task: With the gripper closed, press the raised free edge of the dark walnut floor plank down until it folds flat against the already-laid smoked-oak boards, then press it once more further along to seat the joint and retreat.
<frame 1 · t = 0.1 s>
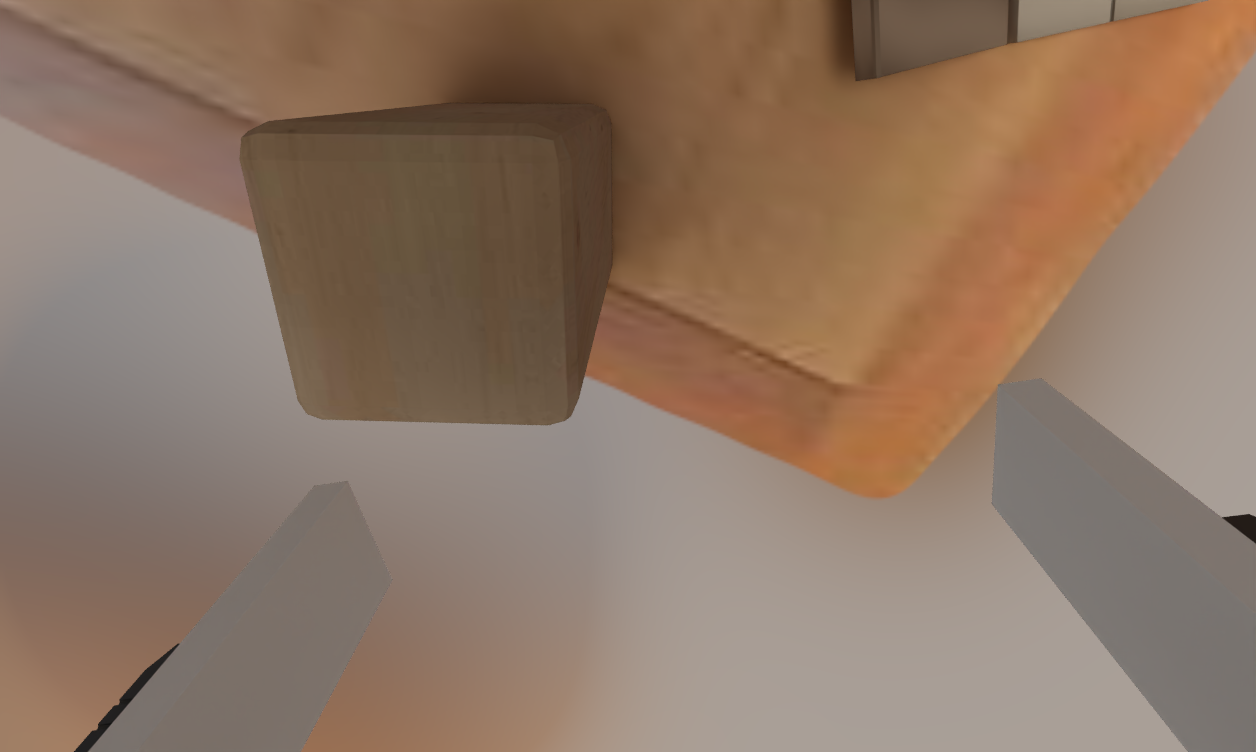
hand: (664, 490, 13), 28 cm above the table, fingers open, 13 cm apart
wooden block: (530, 193, 38), on the table
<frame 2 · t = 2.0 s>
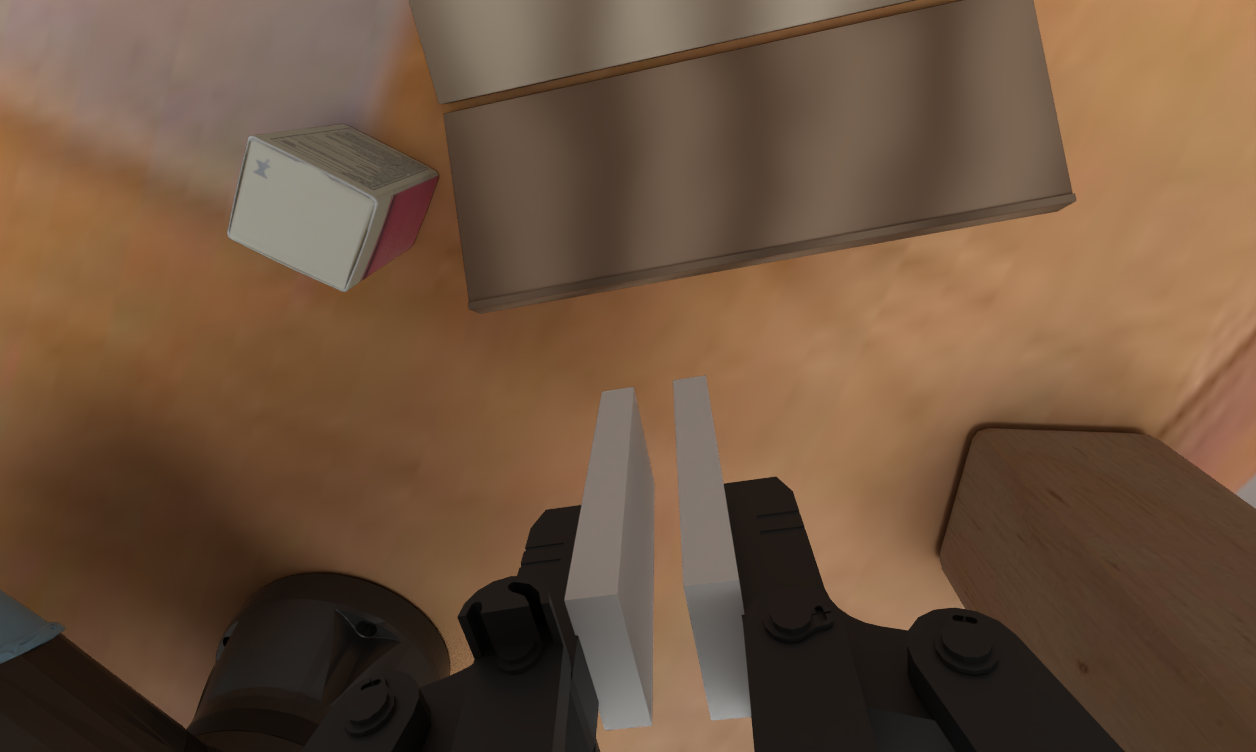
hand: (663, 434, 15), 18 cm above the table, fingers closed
small box: (382, 187, 31), on the table
wooden block: (1033, 496, 37), on the table
plank: (737, 159, 27), point 3 cm above the table, hinge at 28.0°
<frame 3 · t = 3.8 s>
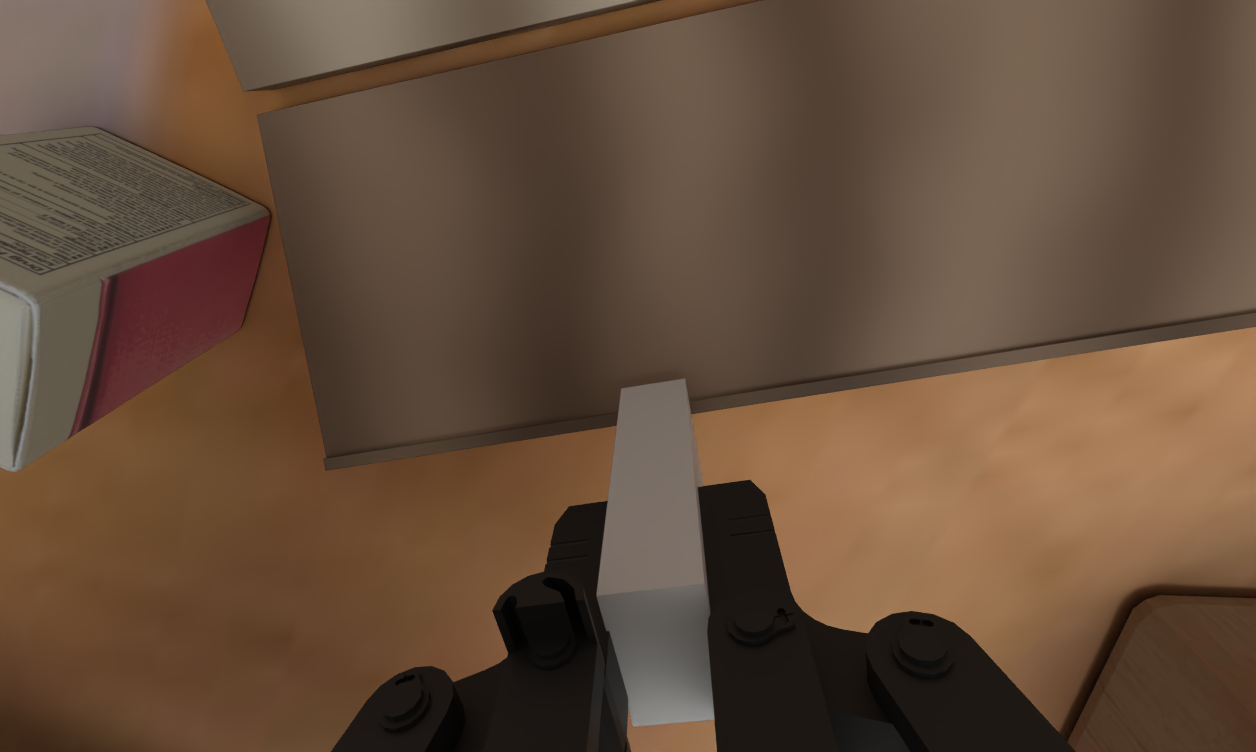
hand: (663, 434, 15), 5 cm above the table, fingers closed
small box: (180, 232, 18), on the table
wooden block: (1208, 678, 25), on the table
plank: (791, 204, 15), point 2 cm above the table, hinge at 21.4°, touching gripper
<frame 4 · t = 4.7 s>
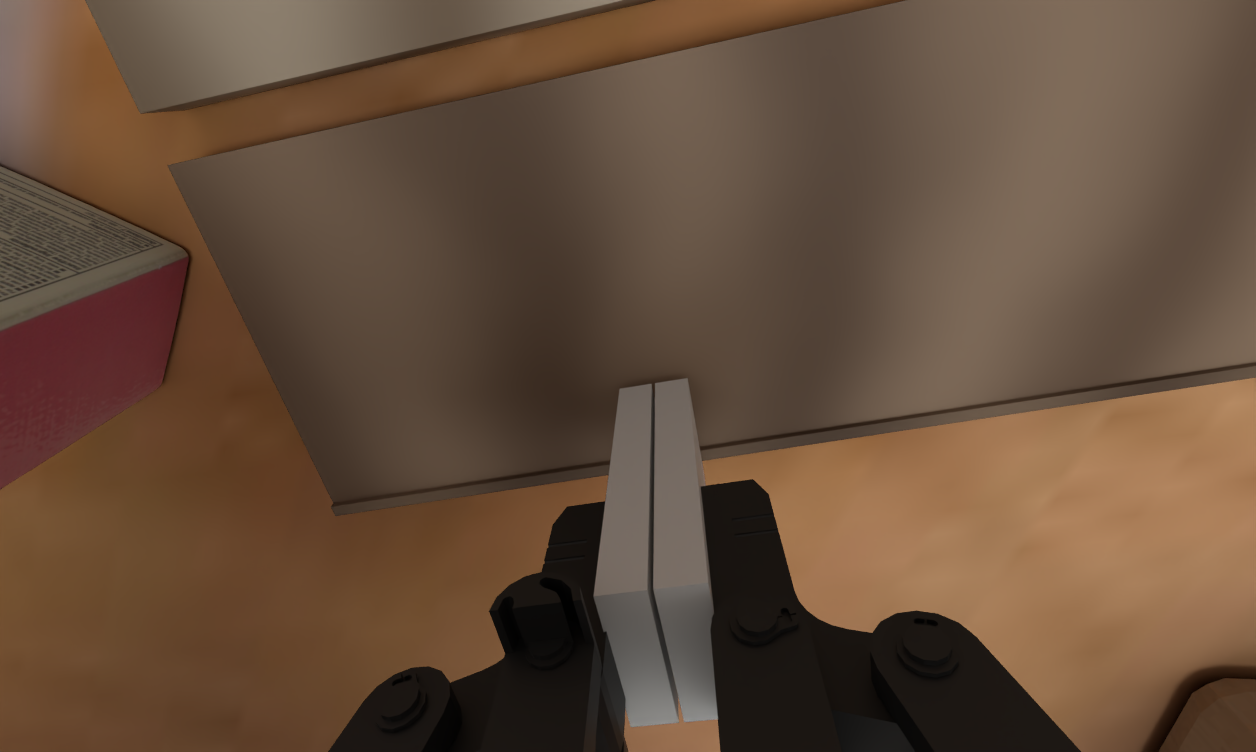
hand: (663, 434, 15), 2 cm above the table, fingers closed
small box: (85, 276, 16), on the table
plank: (793, 257, 14), point 1 cm above the table, hinge at -0.4°, touching gripper
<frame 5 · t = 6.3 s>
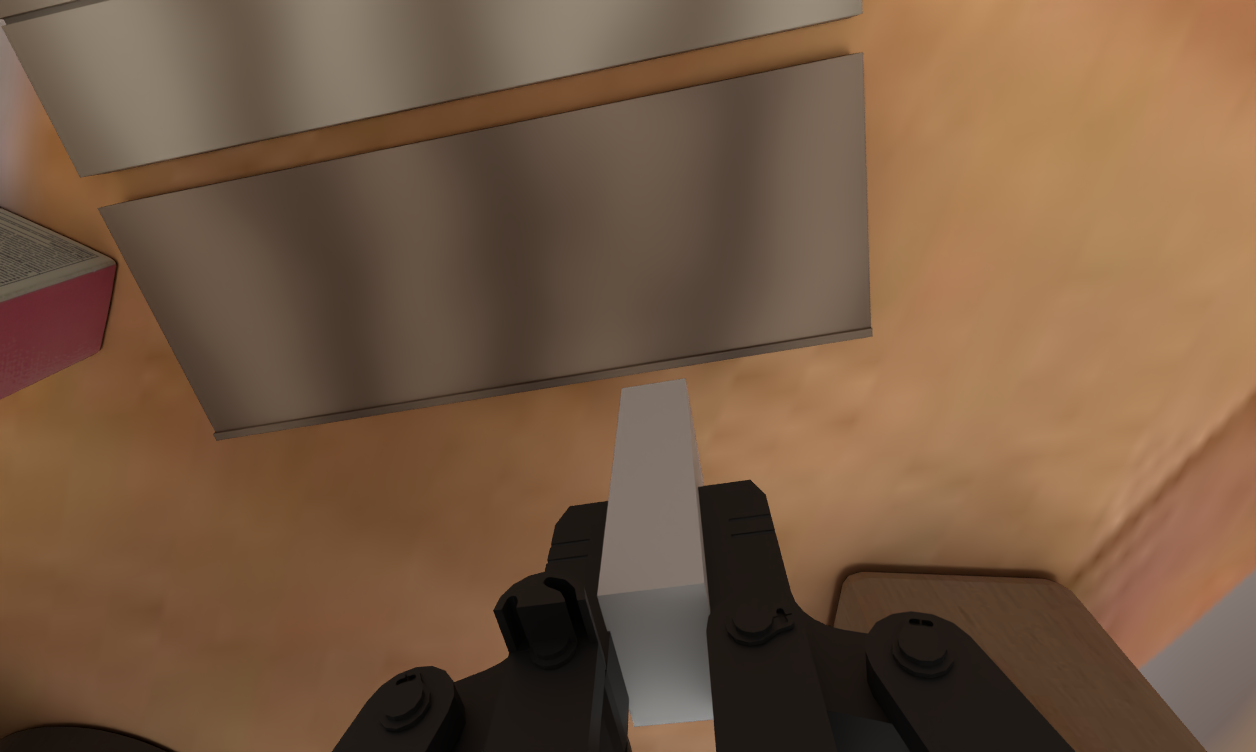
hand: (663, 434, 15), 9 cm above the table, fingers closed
small box: (49, 276, 24), on the table
wooden block: (925, 644, 30), on the table
plank: (498, 269, 22), point 1 cm above the table, hinge at -0.4°
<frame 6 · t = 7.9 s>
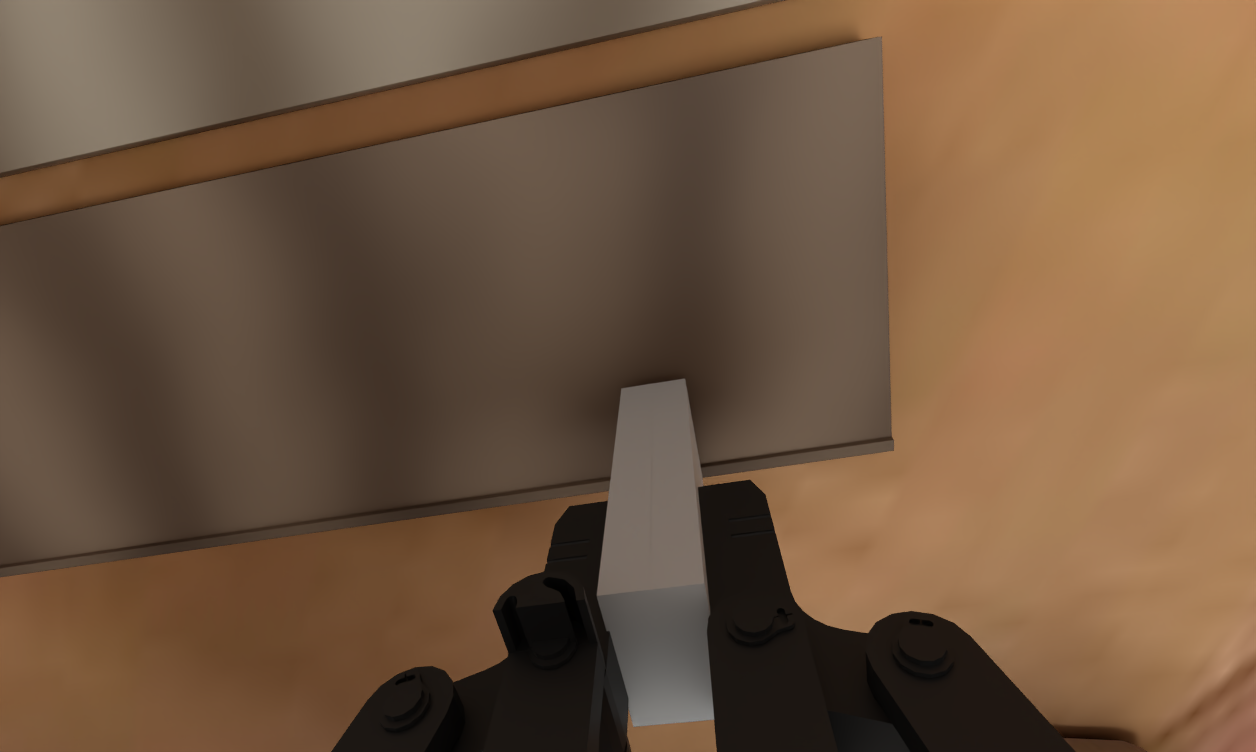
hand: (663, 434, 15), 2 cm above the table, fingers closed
plank: (354, 355, 15), point 1 cm above the table, hinge at -0.4°, touching gripper
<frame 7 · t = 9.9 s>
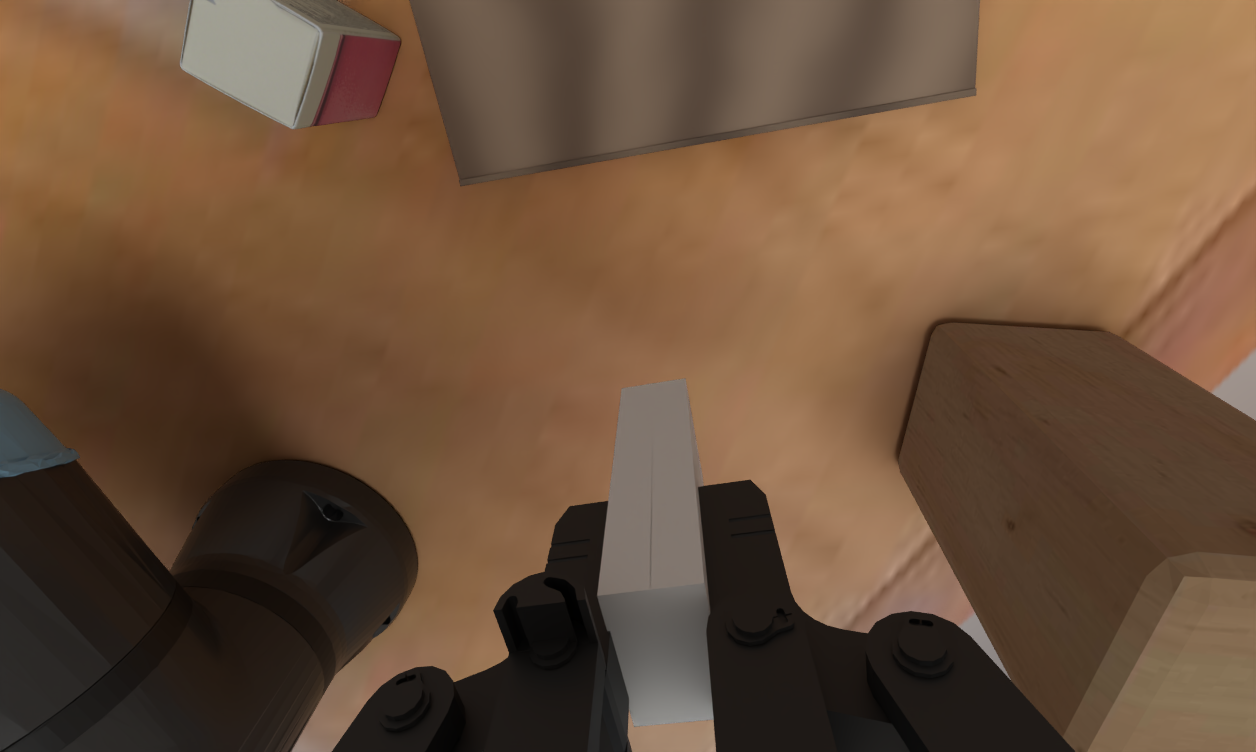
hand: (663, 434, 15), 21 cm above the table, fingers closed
small box: (346, 54, 32), on the table
wooden block: (994, 399, 37), on the table
plank: (690, 40, 29), point 1 cm above the table, hinge at -0.4°
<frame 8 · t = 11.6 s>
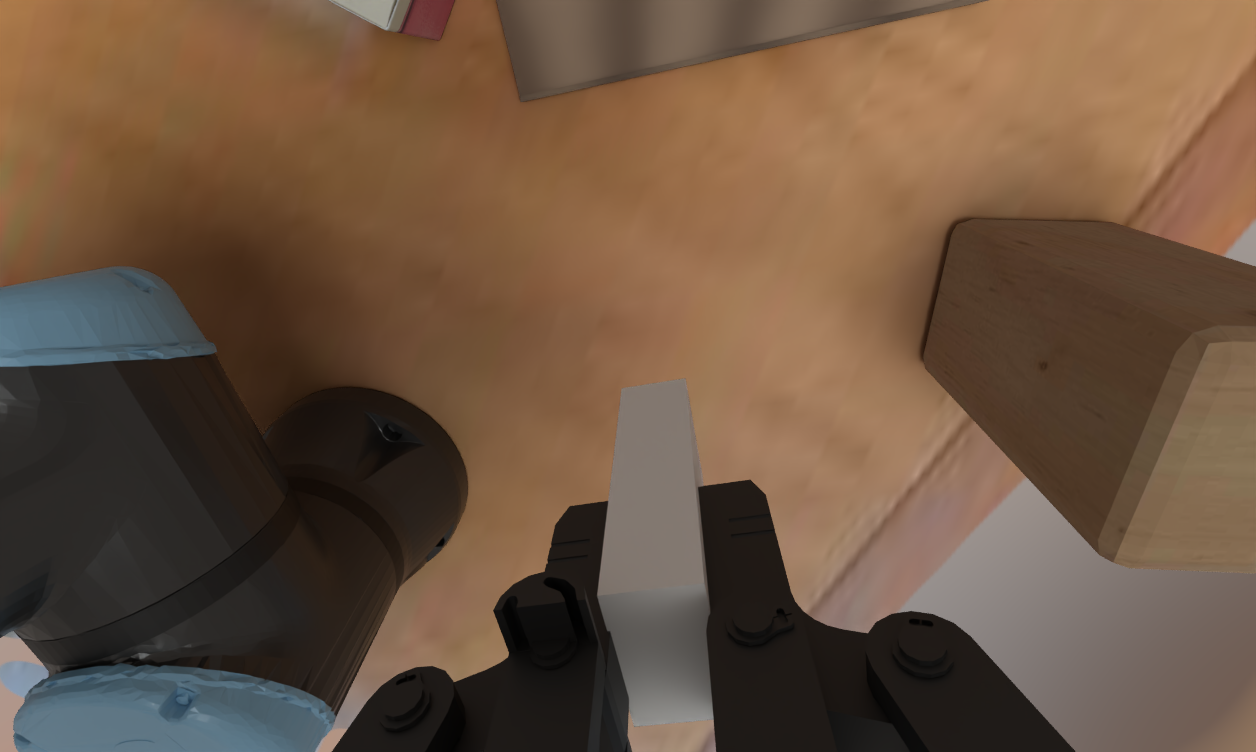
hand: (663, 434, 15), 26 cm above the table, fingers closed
wooden block: (1008, 296, 40), on the table
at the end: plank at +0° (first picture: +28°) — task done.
